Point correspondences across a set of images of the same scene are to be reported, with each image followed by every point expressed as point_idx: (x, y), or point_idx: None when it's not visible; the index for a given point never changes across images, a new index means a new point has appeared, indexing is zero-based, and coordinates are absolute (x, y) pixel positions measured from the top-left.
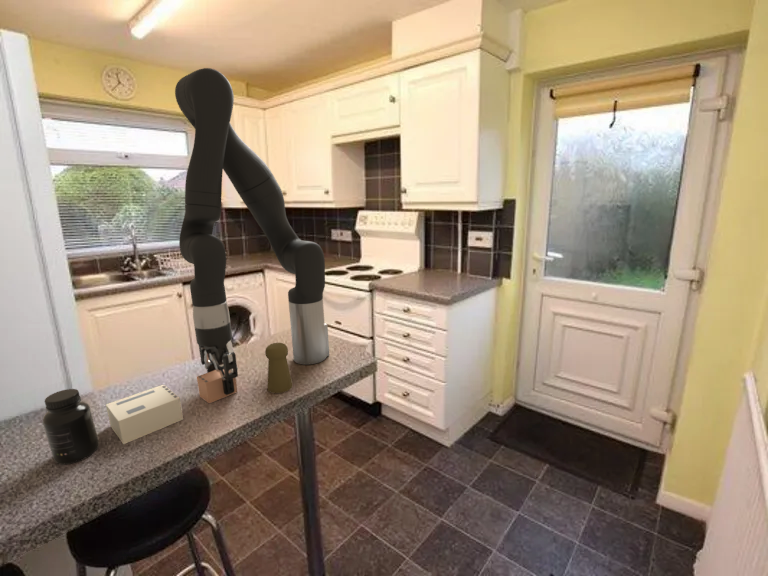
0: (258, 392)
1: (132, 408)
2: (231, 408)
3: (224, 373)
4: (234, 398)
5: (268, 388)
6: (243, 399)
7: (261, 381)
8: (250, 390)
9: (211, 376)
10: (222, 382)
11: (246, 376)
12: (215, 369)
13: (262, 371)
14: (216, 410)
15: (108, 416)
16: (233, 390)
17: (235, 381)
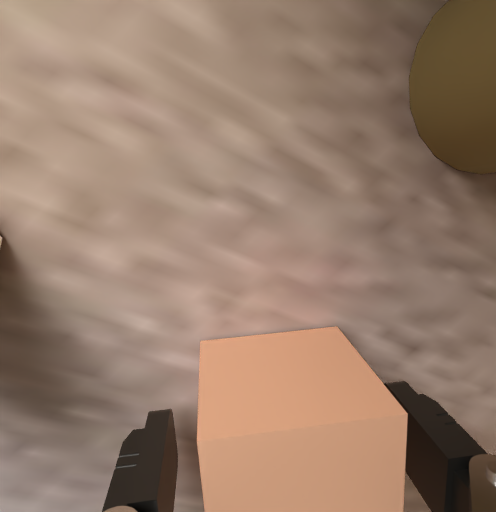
0: (438, 229)
1: None
2: (469, 407)
3: (344, 485)
4: (387, 362)
5: (490, 171)
6: (438, 330)
7: (316, 138)
8: (375, 255)
9: None
10: (428, 506)
11: (150, 183)
12: (161, 503)
13: (153, 36)
14: None
15: None
16: (428, 399)
17: (368, 370)
